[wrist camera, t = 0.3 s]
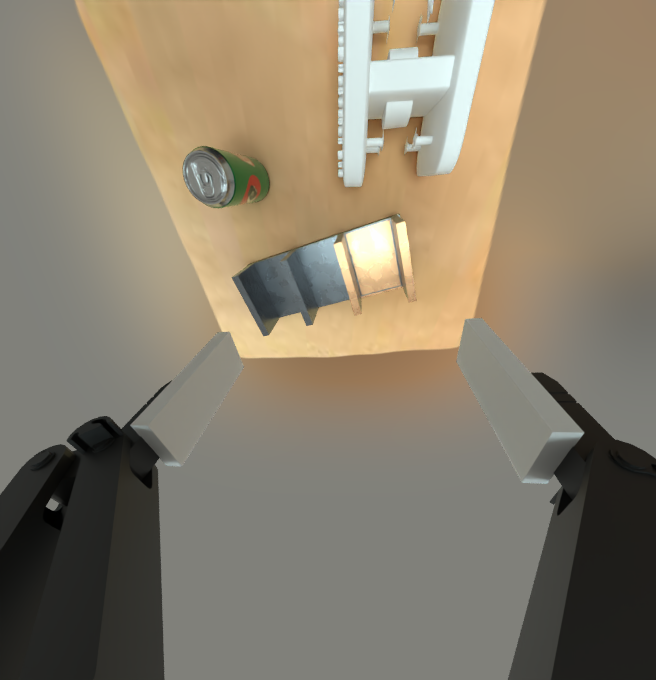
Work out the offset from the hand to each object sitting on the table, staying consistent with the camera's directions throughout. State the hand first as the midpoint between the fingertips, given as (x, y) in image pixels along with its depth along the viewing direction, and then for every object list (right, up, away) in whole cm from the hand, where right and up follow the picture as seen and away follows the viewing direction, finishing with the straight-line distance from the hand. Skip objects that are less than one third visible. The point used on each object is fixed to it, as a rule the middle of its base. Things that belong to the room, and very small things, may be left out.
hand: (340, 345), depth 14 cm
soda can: (-11, +22, +19) cm, 31 cm away
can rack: (-1, +11, +25) cm, 27 cm away
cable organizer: (+7, +27, +14) cm, 31 cm away
